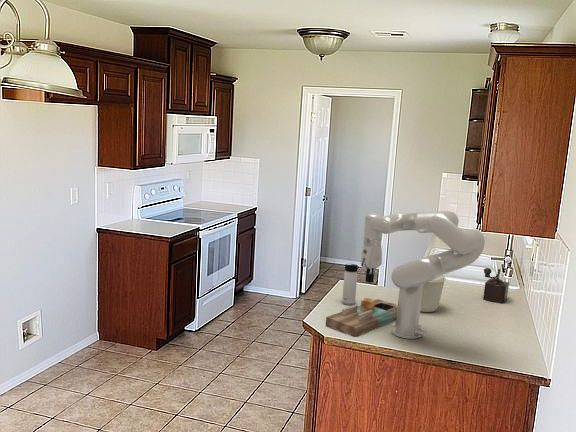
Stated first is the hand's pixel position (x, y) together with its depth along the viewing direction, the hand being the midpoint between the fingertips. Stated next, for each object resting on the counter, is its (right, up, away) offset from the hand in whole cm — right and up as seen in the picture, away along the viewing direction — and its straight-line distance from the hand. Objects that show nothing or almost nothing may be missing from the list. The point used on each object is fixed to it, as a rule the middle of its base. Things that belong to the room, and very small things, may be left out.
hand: (369, 281), depth 252 cm
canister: (+30, -16, +25) cm, 42 cm away
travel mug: (-6, -14, +27) cm, 31 cm away
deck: (0, -18, +5) cm, 19 cm away
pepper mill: (+71, -15, +44) cm, 85 cm away
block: (0, -14, +6) cm, 15 cm away
